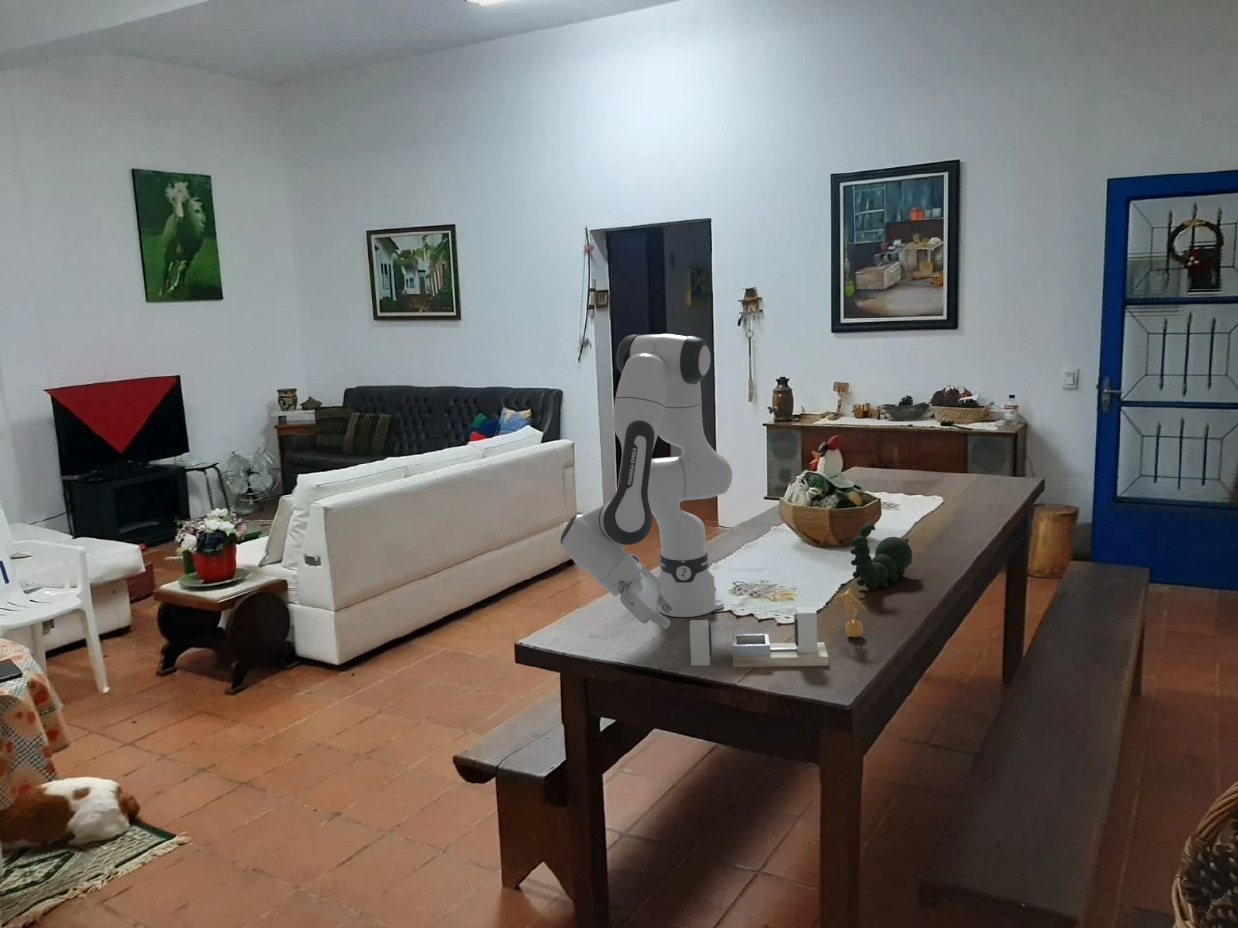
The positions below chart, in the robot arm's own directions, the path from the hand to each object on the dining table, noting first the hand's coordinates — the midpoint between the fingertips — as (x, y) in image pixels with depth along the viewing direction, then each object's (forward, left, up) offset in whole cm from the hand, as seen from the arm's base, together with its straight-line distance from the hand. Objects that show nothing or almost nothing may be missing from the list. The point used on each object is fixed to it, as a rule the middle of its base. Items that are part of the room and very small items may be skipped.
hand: (669, 617), depth 208 cm
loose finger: (0, +6, -10) cm, 12 cm away
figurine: (-12, +40, -11) cm, 43 cm away
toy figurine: (-50, +54, -11) cm, 74 cm away
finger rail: (-1, +23, -10) cm, 26 cm away
